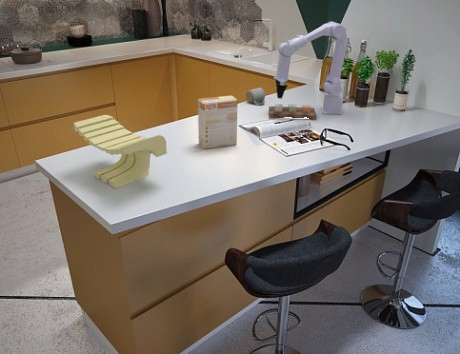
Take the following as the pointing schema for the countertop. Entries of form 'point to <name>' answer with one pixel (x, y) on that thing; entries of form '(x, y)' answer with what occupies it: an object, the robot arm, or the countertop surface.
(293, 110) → the sage button
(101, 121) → the slatted lounge chair
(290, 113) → the button panel
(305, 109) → the terracotta button
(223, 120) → the coffeecake box
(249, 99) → the ceramic mug
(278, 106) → the cream button
